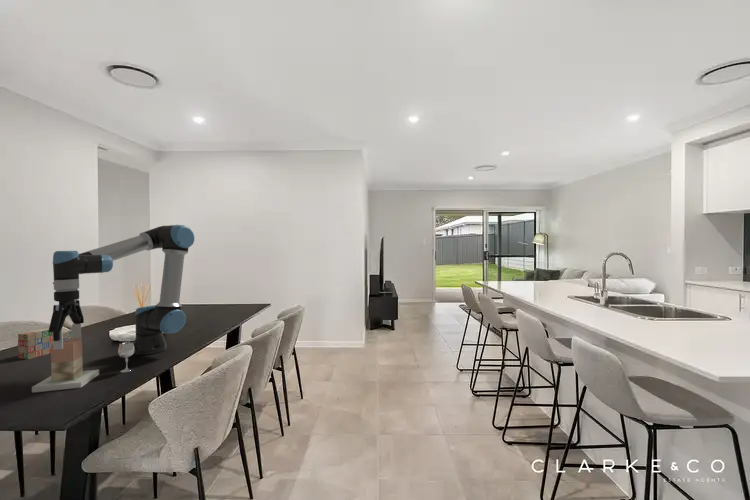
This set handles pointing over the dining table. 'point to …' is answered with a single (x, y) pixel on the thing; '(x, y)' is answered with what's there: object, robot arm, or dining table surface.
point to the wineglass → (126, 352)
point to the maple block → (66, 370)
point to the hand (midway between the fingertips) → (67, 344)
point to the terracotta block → (67, 351)
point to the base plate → (65, 382)
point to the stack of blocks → (37, 342)
